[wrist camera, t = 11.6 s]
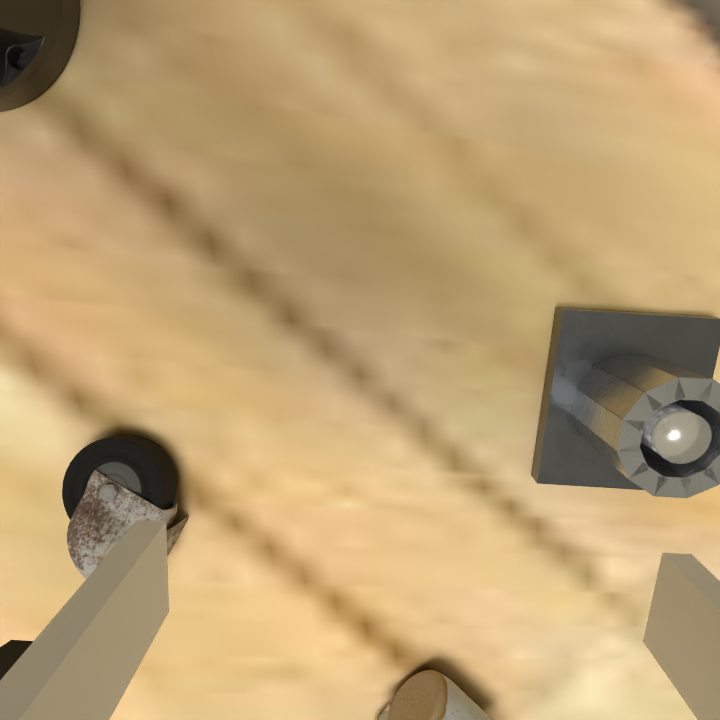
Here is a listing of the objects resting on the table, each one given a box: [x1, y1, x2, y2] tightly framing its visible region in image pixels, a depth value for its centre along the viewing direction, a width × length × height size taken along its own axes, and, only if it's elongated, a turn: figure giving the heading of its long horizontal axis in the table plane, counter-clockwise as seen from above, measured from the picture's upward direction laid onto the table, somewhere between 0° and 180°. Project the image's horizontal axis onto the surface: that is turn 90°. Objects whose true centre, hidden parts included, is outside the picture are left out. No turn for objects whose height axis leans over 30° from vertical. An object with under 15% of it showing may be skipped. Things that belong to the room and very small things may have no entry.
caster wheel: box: [62, 435, 189, 579], centre depth 40 cm, size 7×11×10 cm
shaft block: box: [531, 307, 720, 490], centre depth 35 cm, size 14×12×8 cm
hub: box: [573, 354, 720, 498], centre depth 35 cm, size 8×8×7 cm
